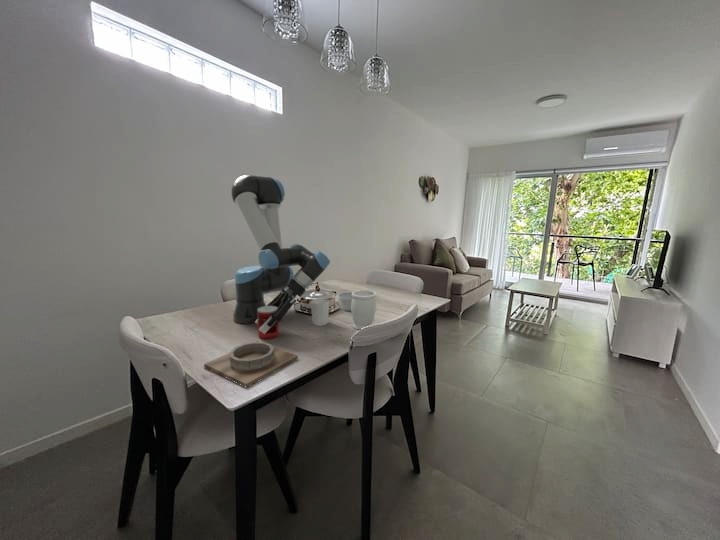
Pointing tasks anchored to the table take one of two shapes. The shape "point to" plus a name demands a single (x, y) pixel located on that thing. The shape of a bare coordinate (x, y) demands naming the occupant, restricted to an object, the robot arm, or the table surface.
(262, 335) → the canned food
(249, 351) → the cup holder
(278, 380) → the table surface
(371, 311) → the jar
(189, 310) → the table surface
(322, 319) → the white cup
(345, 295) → the ramekin
